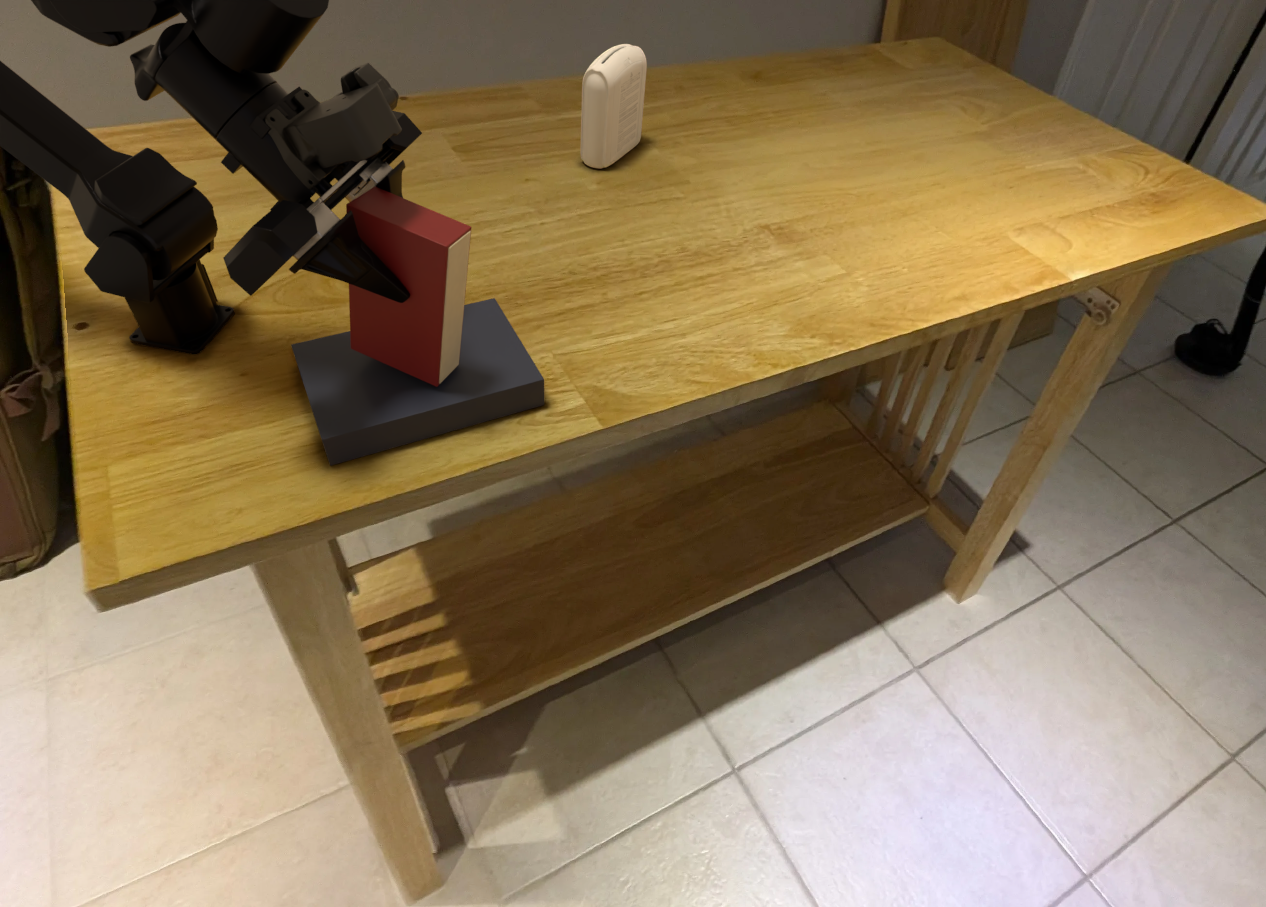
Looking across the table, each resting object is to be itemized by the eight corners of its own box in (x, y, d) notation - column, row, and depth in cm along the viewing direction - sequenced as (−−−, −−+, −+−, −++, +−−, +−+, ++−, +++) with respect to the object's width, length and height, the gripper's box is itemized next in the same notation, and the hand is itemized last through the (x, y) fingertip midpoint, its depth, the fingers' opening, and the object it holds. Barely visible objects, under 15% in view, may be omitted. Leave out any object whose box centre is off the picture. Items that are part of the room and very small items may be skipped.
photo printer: (616, 132, 103) (622, 31, 94) (645, 141, 102) (653, 40, 93) (575, 163, 97) (576, 58, 88) (605, 173, 96) (610, 68, 86)
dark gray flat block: (330, 466, 61) (321, 439, 59) (299, 371, 68) (290, 344, 66) (545, 404, 68) (545, 378, 66) (497, 323, 75) (495, 297, 73)
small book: (350, 348, 64) (345, 204, 55) (375, 327, 67) (375, 186, 58) (438, 387, 63) (448, 247, 54) (460, 365, 66) (473, 227, 57)
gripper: (209, 98, 42) (424, 312, 49) (379, -9, 54) (532, 173, 61) (136, 201, 49) (334, 376, 55) (302, 85, 61) (447, 240, 68)
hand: (418, 284), depth 60 cm, fingers closed on small book, 4 cm apart
